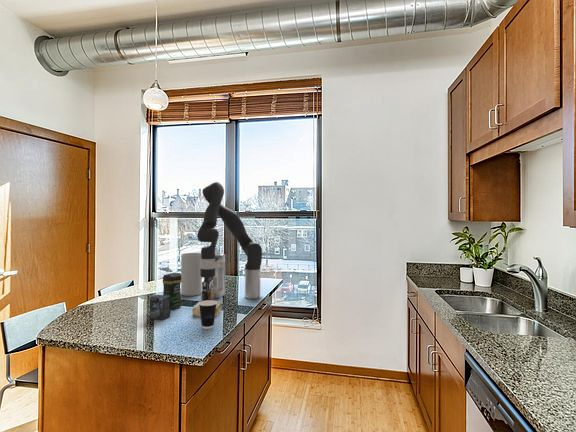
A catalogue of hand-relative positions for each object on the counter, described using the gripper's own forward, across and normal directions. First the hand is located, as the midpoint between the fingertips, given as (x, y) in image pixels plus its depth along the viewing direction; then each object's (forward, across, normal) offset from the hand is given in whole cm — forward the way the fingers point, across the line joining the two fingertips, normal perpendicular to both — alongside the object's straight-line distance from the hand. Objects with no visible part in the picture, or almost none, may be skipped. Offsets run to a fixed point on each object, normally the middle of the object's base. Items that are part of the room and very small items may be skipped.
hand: (207, 299), depth 168 cm
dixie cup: (+7, -21, -5) cm, 23 cm away
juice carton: (+7, +32, +2) cm, 33 cm away
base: (+7, 0, 0) cm, 7 cm away
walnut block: (+2, 0, 0) cm, 2 cm away
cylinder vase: (+7, +38, +19) cm, 43 cm away
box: (+7, -9, +21) cm, 24 cm away
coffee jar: (+7, +8, +21) cm, 24 cm away
